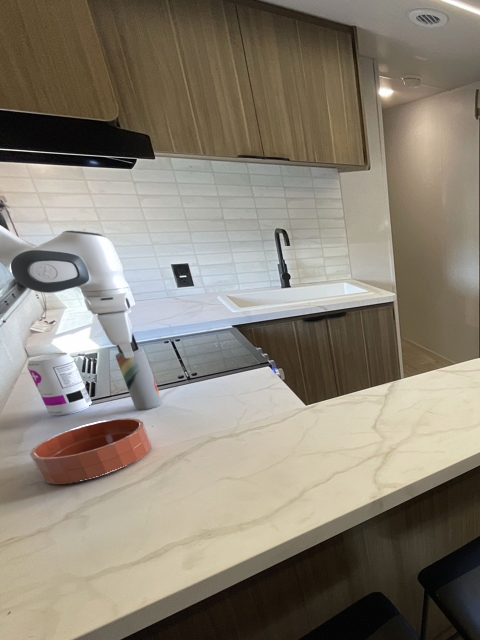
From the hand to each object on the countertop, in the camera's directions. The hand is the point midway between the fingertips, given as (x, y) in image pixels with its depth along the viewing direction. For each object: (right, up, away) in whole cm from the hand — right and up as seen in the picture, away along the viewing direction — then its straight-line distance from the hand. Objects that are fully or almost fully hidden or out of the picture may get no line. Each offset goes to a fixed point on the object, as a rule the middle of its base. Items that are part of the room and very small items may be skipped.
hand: (130, 354), depth 103 cm
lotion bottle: (0, -14, +5) cm, 15 cm away
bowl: (+14, -23, -21) cm, 34 cm away
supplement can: (-20, -15, +4) cm, 25 cm away
